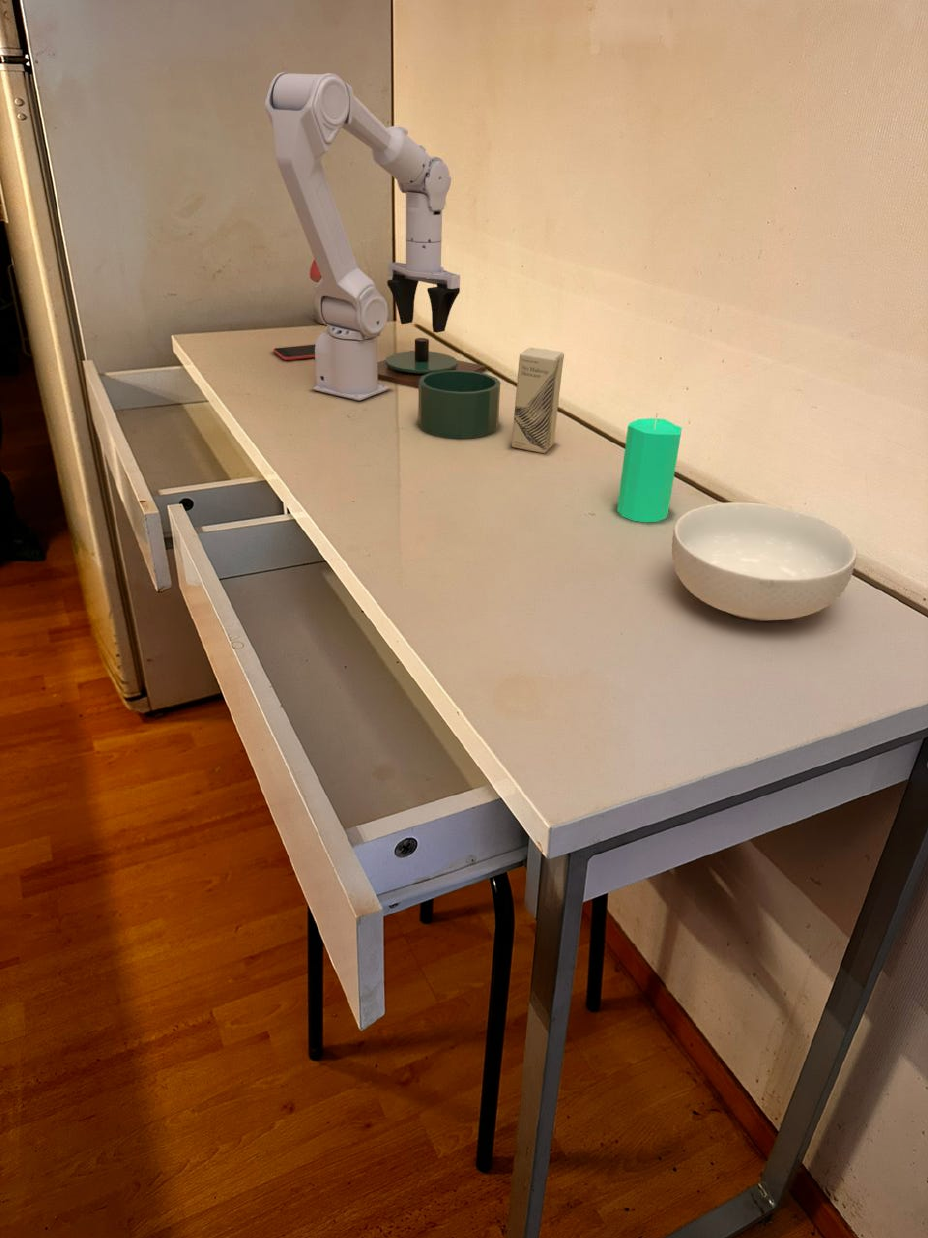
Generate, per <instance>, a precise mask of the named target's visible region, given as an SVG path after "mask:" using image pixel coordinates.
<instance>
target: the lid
mask: <svg viewBox="0 0 928 1238" xmlns="http://www.w3.org/2000/svg"><path fill="white" fill-rule="evenodd" d="M409 351H410V352H409ZM409 351H403V352H396V353H392V354H390V355H388V356H386V357H385V359H384V360H385V363H386V365H387V366H388V367H390V368H392V369H395V370H399V371H404V372H408V373H416V374H429V373H432V372H438V371H446V370H452V369H454V368H456V367H457V365H458V361H457V360H458V359H457V358H455V356H452V355H450V354H446V353H442V352H436V351H430V338H429V339H428V338H426V337H417V338H415V339H414V350H409Z"/></svg>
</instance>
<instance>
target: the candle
mask: <svg viewBox="0 0 928 1238" xmlns="http://www.w3.org/2000/svg"><path fill="white" fill-rule="evenodd" d="M655 413H656V415H655V418H652V417H651V418H650V417H649V418H638V419H635V420H633V421H631V422H629V423H628V425H627V430H626V431H627V432H626V440H625V446H624V453H623V454H624V455H623V461H622V462H623V463H622V468H621V475H620V483H619V484H620V485H619V492H618V498H617V499H618V500H617V505H616V512H618V514H619V515H620V516H621V517H623V518H625V519H628V520H630V521H634V522H640V523H659V522H662V521H663V520H665V519H667V517H668V514H669V509H670V502H671V496H672V491H673V485H674V484H673V483H674V478H675V473H676V467H677V460H678V455H679V447H680V441H681V436H682V429H683V427H681V426H679V425H676V424H675V423H672V422H671V421H669V420H668V419H666V418H658V414H659V412H655Z"/></svg>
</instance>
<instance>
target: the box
mask: <svg viewBox="0 0 928 1238" xmlns="http://www.w3.org/2000/svg"><path fill="white" fill-rule="evenodd" d="M564 358H565V353H564V352H562V351H558V350H550V349H545V348H537V347H528V348H526V349H525V350H524V351H522V352H521V353H519V358H518V359H519V361H518V368H517V369H518V370H517V371H518V372H517V379H516V381H517V382H516V393H515V401H514V402H515V403H514V414H513V426H512V437H511V447H512V448H514V449H521V450H526V451H531V452H536V453H541V454H543V453H544V454H545V453H546V452H548V450H550V448H551V447H552V446H553V445H554V443H555V434H556V426H557V418H558V408H559V399H560V393H561V391H560V390H561V383H562V373H563V365H564V360H565V359H564Z"/></svg>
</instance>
